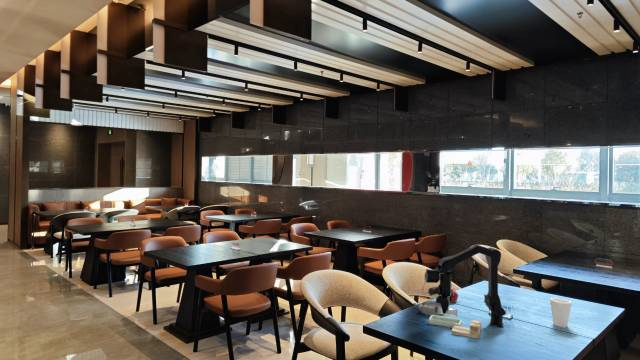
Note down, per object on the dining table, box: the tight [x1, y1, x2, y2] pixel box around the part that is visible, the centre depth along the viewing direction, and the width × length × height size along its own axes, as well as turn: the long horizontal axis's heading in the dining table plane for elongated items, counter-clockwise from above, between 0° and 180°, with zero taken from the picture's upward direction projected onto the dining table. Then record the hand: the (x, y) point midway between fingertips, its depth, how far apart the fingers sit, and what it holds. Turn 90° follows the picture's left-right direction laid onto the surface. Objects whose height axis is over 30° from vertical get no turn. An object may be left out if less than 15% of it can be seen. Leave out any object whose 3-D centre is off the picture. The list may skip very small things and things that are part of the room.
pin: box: [435, 306, 458, 317], centre depth 214 cm, size 3×11×3 cm, turn 64°
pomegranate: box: [450, 288, 459, 303], centre depth 254 cm, size 10×10×9 cm
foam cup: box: [550, 297, 572, 328], centre depth 215 cm, size 10×9×13 cm
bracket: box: [451, 319, 482, 340], centre depth 201 cm, size 8×13×6 cm, turn 64°
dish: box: [418, 300, 444, 316], centre depth 231 cm, size 14×14×5 cm
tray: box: [428, 315, 463, 329], centre depth 214 cm, size 9×16×2 cm, turn 64°
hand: (444, 312), depth 214 cm, fingers closed on pin, 3 cm apart
